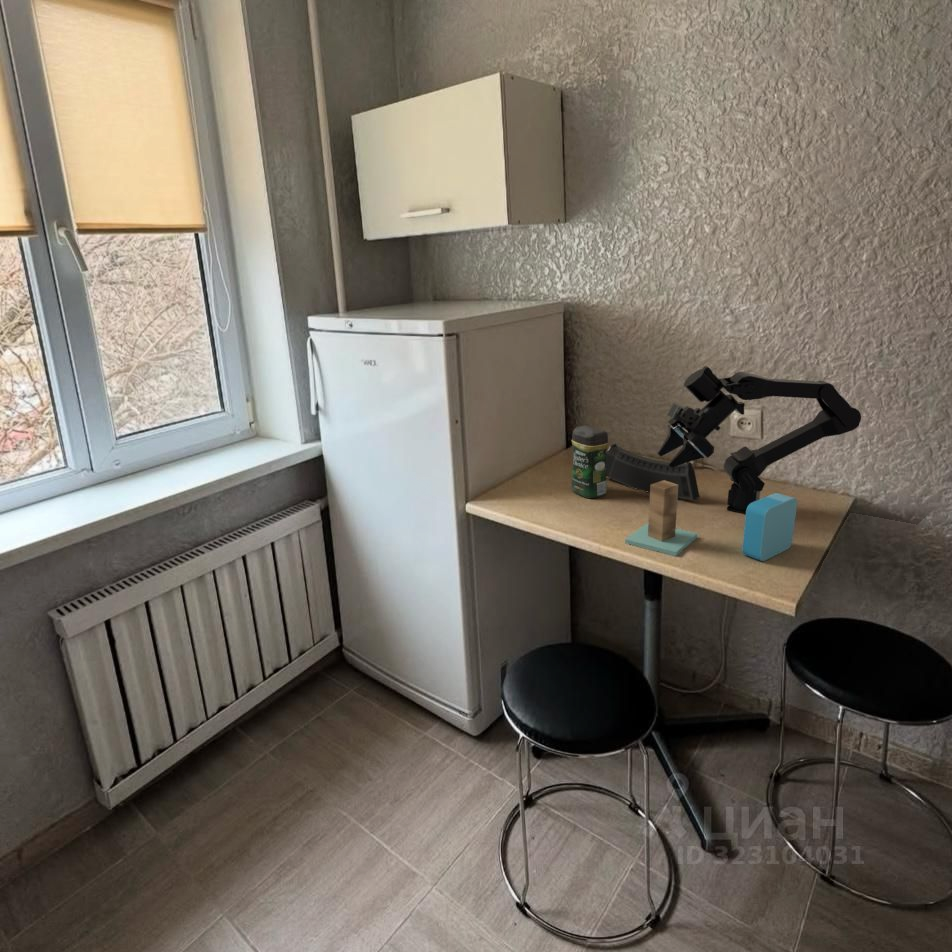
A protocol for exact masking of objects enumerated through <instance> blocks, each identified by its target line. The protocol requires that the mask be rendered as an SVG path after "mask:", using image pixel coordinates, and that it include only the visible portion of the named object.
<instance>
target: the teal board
mask: <svg viewBox="0 0 952 952" xmlns="http://www.w3.org/2000/svg"><path fill="white" fill-rule="evenodd" d="M648 523H649V521H648V522H646V523H645V524H643V525H642V526H641V527H639V528H638V529H637V530H635V531H634V532H632V534H630V535H628V537H626V538H625V539H624V541H625V542H624V544H626V543H628V544H627V545H630V544H631V546H634V545H635V547H638V546H639V548H641V549H642V548H643V549H645V548H647V549H646V550H649V549H650V550H651V551H653V550H654V552H657V551H659V552H658V553H661V552H662V554H665V555H669V556H672V555H673V556H672V557H677V556H678V555H679V554H681V552H683V551H682V550H683V549H684V548H685V549H686V548H688V546H689V545H690V544H691V543H692V541H693V542H694V541H695V540H696V539H697V538H698V533H697V532H693V531H688V530H684V529H680V528H676V529H675V537H673V538H670V539H667V540H665V541H662V542H661V541H659V540H656V539H654V538H651V537H649V536H648ZM685 549H684V550H685ZM650 550H649V551H650Z"/></svg>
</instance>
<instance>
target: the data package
mask: <svg viewBox="0 0 952 952" xmlns="http://www.w3.org/2000/svg"><path fill="white" fill-rule="evenodd" d="M797 506H798V500H797V498H795V497H792V496H789V495H785V494H782V493H779V492H775V493H772V494H770V495H767V496H764V497H763V498H759V500H757V501H755V502H752V503H750V504H749V505H748V507H747V510H746V514H745V518H744V529H743V539H742V547H741V552H742V553H743V555H744V556H746V557H750V558H753V559H755V560H757V561H760V562H765V561H768V560H769V559H771V558H773V557H776V556H777V555H779V554H781V553H783V552H785V551H787V550H789V549H790V547H791V546H792V544H793V539H794V530H795V524H796V515H797V508H798V507H797Z"/></svg>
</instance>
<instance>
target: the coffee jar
mask: <svg viewBox="0 0 952 952" xmlns="http://www.w3.org/2000/svg"><path fill="white" fill-rule="evenodd" d="M571 435H572V438H571V444H572V451H573V453H572V454H573V455H572V456H573V459H572V473H571V487H570V488H571V491H572V492H573V493H575V494H576V495H579V496H582V497H584V498H588V499H590V498H596V499H597V498H601V497H602V496H604V495H606V494H607V490H608V489H607V488H608V487H607V486H608V484H607V483H608V480H607V478H608V477H607V476H606V452H607V451H608V448H609V435H608V432H606V431H605V430H602V429H597V428H595V427H591V426H589V425H586V424H585V425H580V426H577V427H575V428H574V429H573V431H572V434H571Z"/></svg>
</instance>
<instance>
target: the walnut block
mask: <svg viewBox="0 0 952 952" xmlns="http://www.w3.org/2000/svg"><path fill="white" fill-rule="evenodd" d="M678 499H679V498H678V484H675V483H671V482H668V481H665V480H663V481H660V482H657V483H654V484H651V485H650V493H649V505H648V506H649V507H648V522H649V523H648V522H647V523H648V536H649V537H651V538H654V539H656V540H659V541H661V542H662V541H665V540H667V539H670V538H673V537H675V529H677V528H676V527H677V526H676V525H677V512H678Z"/></svg>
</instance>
